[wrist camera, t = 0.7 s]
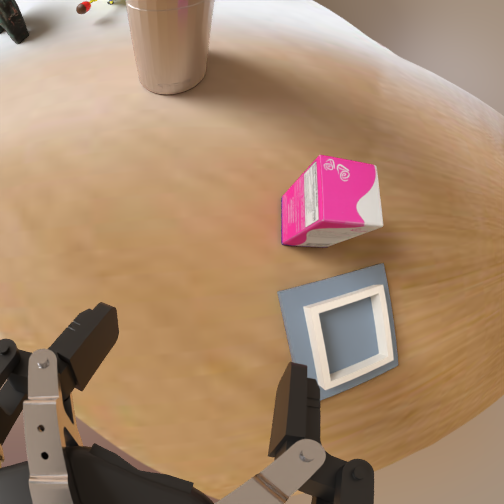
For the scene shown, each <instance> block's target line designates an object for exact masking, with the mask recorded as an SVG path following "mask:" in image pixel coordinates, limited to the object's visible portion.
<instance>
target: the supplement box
mask: <svg viewBox="0 0 504 504" xmlns="http://www.w3.org/2000/svg"><path fill="white" fill-rule="evenodd" d="M381 227H383V218H382V209H381V200H380V191H379V182H378V174H377V167H376V165H372V164H367V163H362V162H357V161H352V160H347V159H342V158H336V157H330V156H324V155H319V156H318V157H317V158H316V159H315V160H314V162H313V163H312V164H311V165H310V166H309V167H308V168H307V169H306V171H304V173H303V174H302V175H301V176H300V177H299V178H298V179H297V181H296V182H295V183H294V184H293V185H292V186H291V187H290V188H289V189H288V191H287V192H286V193H285V194H284V195H283V196H282V229H281V233H282V245H288V246H304V247H328V246H331V245H334V244H336V243H339V242H342V241H345V240H348V239H350V238H353V237H356V236H359V235H362V234H364V233H367V232H370V231H373V230H375V229H378V228H381Z"/></svg>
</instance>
